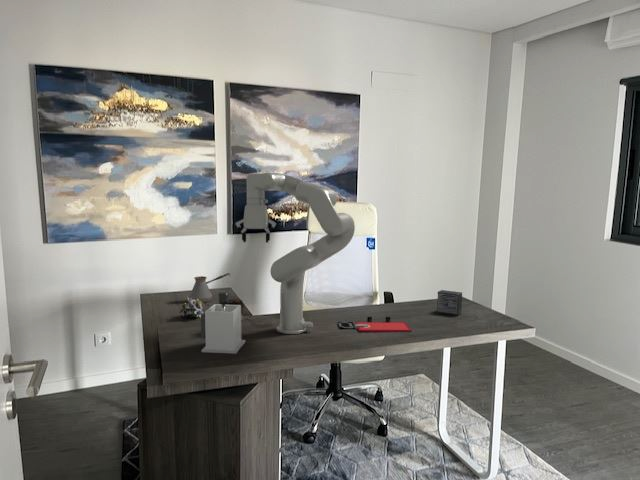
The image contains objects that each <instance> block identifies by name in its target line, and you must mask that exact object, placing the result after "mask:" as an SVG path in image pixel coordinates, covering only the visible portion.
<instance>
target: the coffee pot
mask: <svg viewBox="0 0 640 480" xmlns="http://www.w3.org/2000/svg"><path fill="white" fill-rule="evenodd" d="M227 276H229V277H231V274H230V272H228V273H225V274H222V275H219V276H217V277H216V278H213V279H211V280H209V281H206V279H207V278H208V277H207V276H201V275H200V276H195V277H193V278H194V280H195V282H194V284H193V287H192V289H191V292H190V295H189V299H190V298H192V299H195V301H196V300H197V299H198V300H199V299H201V302H202V303H203V304H205V302H206V303H209V301H210V300H211V299H212V297H213V295H212V292H211V290H210V288H209V285H208V284H210V283H212V282H214V281H217V280H220V279H223V278H224V277H227Z"/></svg>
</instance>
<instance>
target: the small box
mask: <svg viewBox="0 0 640 480" xmlns="http://www.w3.org/2000/svg"><path fill="white" fill-rule="evenodd" d="M462 303H463V292H461V291H454V290H453V291H452V290H443V289H440V290H439V291H437V308H436V313H437V314H444V315H452V316H459V315H460V314H462V307H463V306H462V305H463V304H462Z"/></svg>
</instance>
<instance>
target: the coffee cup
mask: <svg viewBox="0 0 640 480" xmlns="http://www.w3.org/2000/svg"><path fill="white" fill-rule="evenodd" d="M225 305H241V324H242V322H243V317H244V313H243V312H244V311H243V310H244V307H245V303H243V300H242V299H240V298H239V299H238V298H237V299H236V298H233V299H228V304H225Z"/></svg>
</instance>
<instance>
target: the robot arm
mask: <svg viewBox="0 0 640 480" xmlns="http://www.w3.org/2000/svg"><path fill="white" fill-rule="evenodd" d="M265 191H268V192H269V191H270V192H272V191H273V192H274V191H278V192H283V193H286V194H288V195H290V196H292V197H294V199H295V200H296V201H297V202H300V203H305V204H307V205H309V207H310V209H311V211H312V213H313V215H314V217H315V218H316V220H317V222H318V224H319V226H320V227H321V229H322V231H323V232H324V233H325V234H326V235H324V236H322V237H320V238H319V239H317V240H316V241H313V242H311V243H310V244H305V245H302V246H299V247H297V248H295V249H293V250H291V251H290V252H288V253H286V254H285V255H283V256H281V257H280V258H278V259H276V260H275V261H274V262H272V264H271V266H270V270H269V272H270V276H271V278H272V279H273V280H274V281H275V282H278V283H280V290H279V291H280V292H279V293H280V294H279V295H280V296H279V297H280V298H279V299H280V300H279V307H280V308H279V309H280V311H279V314H280V315H279V317H280V319H279V321H280V323H279V325H278V326H276V332H278V333H281V334H283V335H297V334H298V335H299V334H301V333H304V332H306V331H307V328H313V327H314V322H311V321H305V318H304V317H303V315H304V311H303V309H304V302H303V301H304V299H303V298H304V296H303V295H304V279H305V272H307V271H308V270H310V269H313V268H315V267H317V266H318V265H320V264H321V263H323V262H324V261H326V260H328V259H329V258H331V257H333V256H335V254H338V253H339V252H341V251H342V250H343V249H345V248H346V247H347V246H348V245H349V244H350V243H351V241H352V240H353V237H354V234H355V231H356V230H355V228H356V227H355V221H354V219H353V217H352V216H351V214H348V213H345V212H337V210H336V207H335V206H336V204H337V202H338V195H337V193H336V191H335V190H333V189H331V188H329V187H325V186H322V185H319V184H315V183H312V182H308V181H306V180H303V179H299V178H297V177H294V176H290V175H288V174H284V173H281V172H261V173H260V172H259V173H258V172H249V173H247V175H246V205H245V206H244V212H243V218H242V219H241V220H238V221H237V222H235V225H236V227H237V228H236V229H238V231H240V233H241V241H242V242H243V243H246V242H247V232H246V231H247V230H249V229H250V230H264V231H265V243H267V244H268V243H269V241H270V240H271V239H270V235H271V234H270V233H271V232H272V231H273V230H274V229H275V227H276V225H277V223H276V222H275V221H273V220H271V219H269V213H268V207H267V205H266V204H267V203H269V199H266V198H265V194H266V193H265ZM241 224H243V227H242V226H241ZM269 224H270V225H271V227H270V228H269Z"/></svg>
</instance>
